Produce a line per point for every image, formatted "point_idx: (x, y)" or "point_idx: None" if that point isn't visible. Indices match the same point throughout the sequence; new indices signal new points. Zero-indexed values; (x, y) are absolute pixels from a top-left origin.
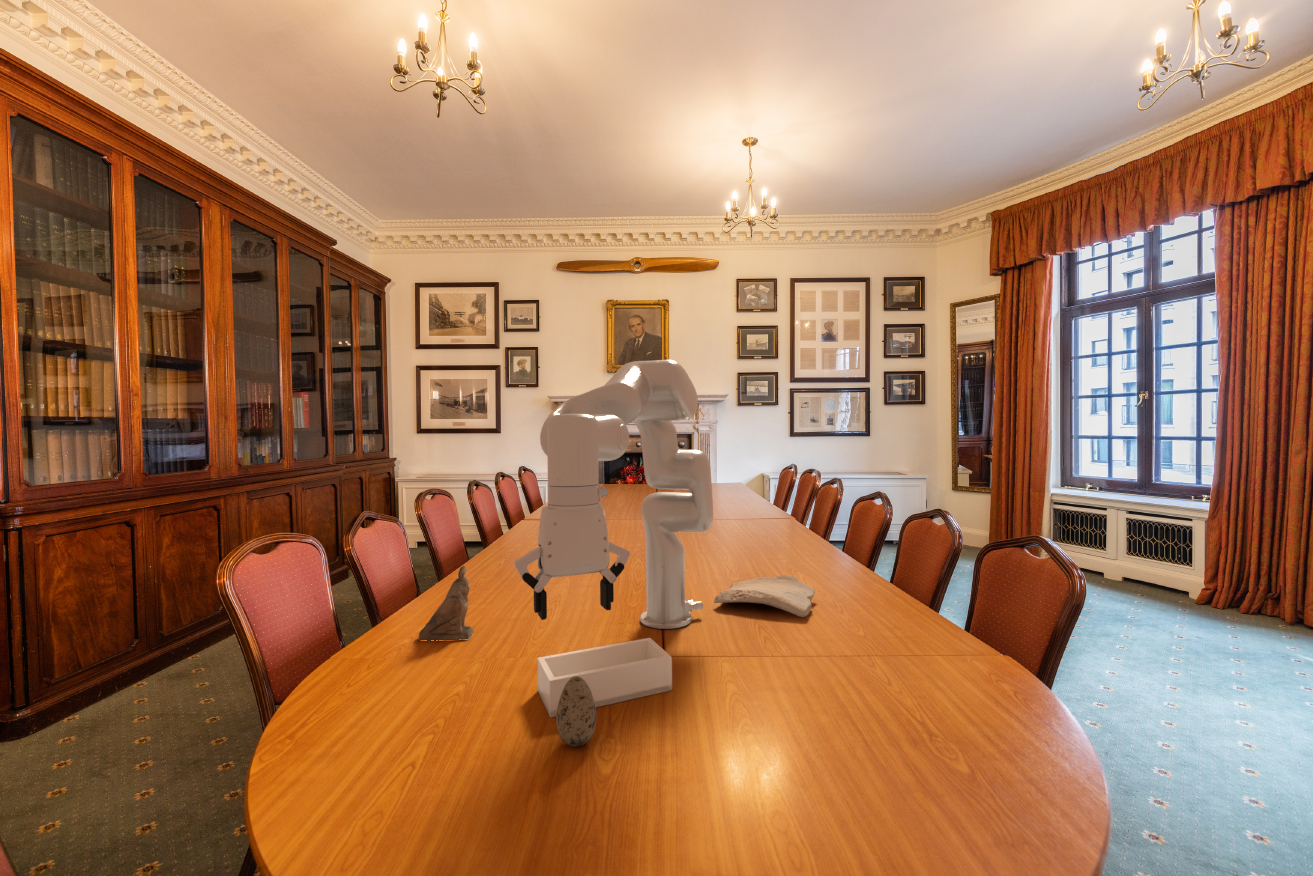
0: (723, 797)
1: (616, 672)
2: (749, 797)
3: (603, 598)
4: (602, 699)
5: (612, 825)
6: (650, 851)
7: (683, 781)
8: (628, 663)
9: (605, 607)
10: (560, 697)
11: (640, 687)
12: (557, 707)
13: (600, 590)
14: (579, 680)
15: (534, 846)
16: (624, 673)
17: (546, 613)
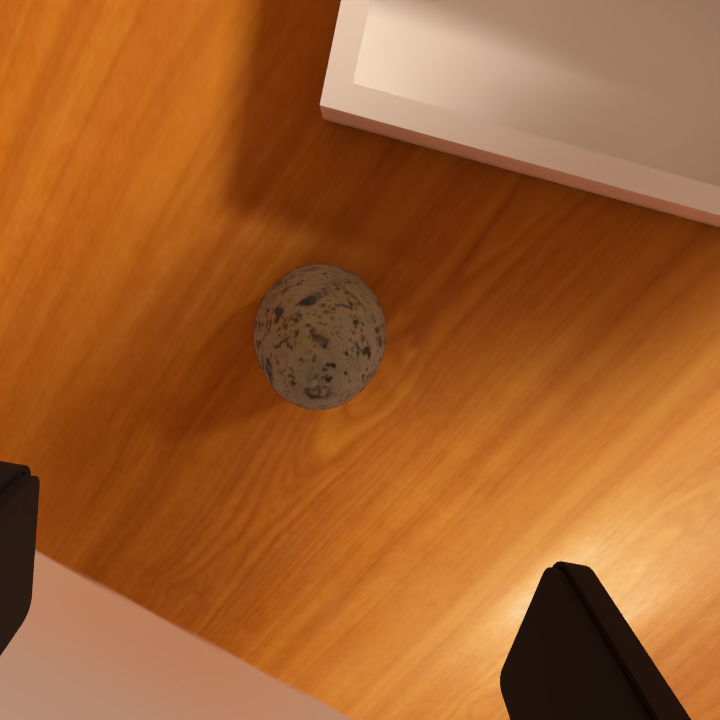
0: (461, 630)
1: (598, 184)
2: (496, 652)
3: (545, 697)
4: (508, 168)
5: (250, 579)
6: (273, 651)
7: (436, 563)
8: (673, 181)
9: (509, 677)
10: (263, 335)
11: (649, 205)
12: (260, 314)
13: (604, 672)
14: (321, 397)
15: (104, 547)
16: (625, 192)
17: (2, 648)
